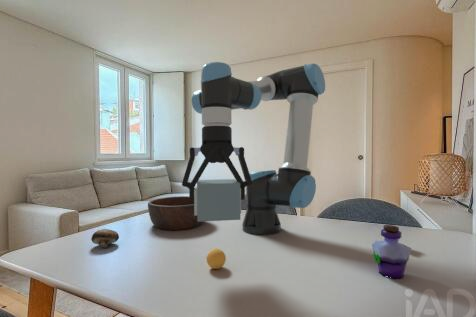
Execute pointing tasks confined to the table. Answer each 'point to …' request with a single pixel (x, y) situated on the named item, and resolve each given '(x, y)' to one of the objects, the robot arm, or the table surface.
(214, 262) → the ball
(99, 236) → the mushroom
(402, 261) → the potion bottle
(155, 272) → the table surface
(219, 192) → the smooth grey cuboid
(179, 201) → the wooden bowl
